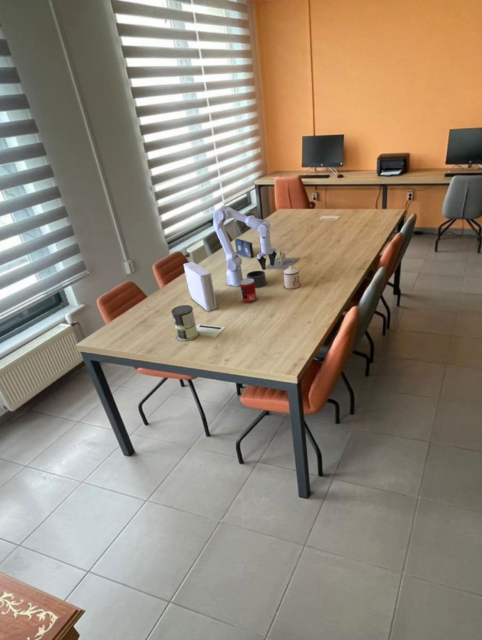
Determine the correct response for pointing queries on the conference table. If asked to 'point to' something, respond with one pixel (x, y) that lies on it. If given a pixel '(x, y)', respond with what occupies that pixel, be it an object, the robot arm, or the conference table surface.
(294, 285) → the teacup with lid
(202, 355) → the conference table surface
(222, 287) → the conference table surface
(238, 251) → the vhs cassette tape
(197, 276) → the game console
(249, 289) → the canned food
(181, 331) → the coffee can
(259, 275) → the pot
